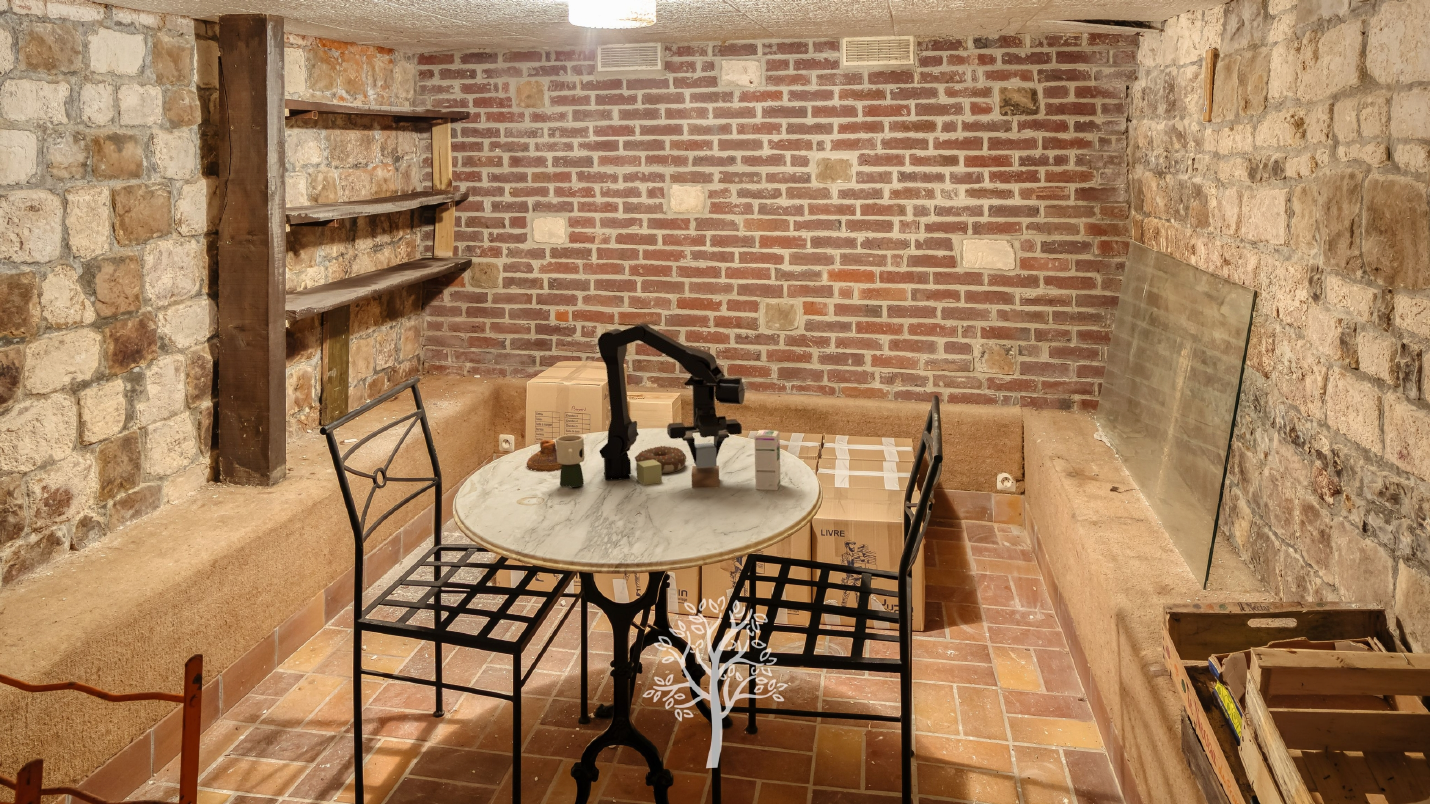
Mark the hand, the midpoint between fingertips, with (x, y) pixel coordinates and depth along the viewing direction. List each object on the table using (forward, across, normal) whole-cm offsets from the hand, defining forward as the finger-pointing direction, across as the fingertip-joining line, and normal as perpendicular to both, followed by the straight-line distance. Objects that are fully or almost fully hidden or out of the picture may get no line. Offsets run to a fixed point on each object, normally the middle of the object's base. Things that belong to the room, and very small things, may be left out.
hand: (704, 460), depth 263 cm
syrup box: (+6, +15, -7) cm, 18 cm away
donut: (+7, -9, +17) cm, 21 cm away
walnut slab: (+6, 0, 0) cm, 7 cm away
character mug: (+6, -34, +7) cm, 36 cm away
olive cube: (+6, -14, +6) cm, 16 cm away
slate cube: (+1, 0, 0) cm, 1 cm away
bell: (+7, -40, +27) cm, 49 cm away
